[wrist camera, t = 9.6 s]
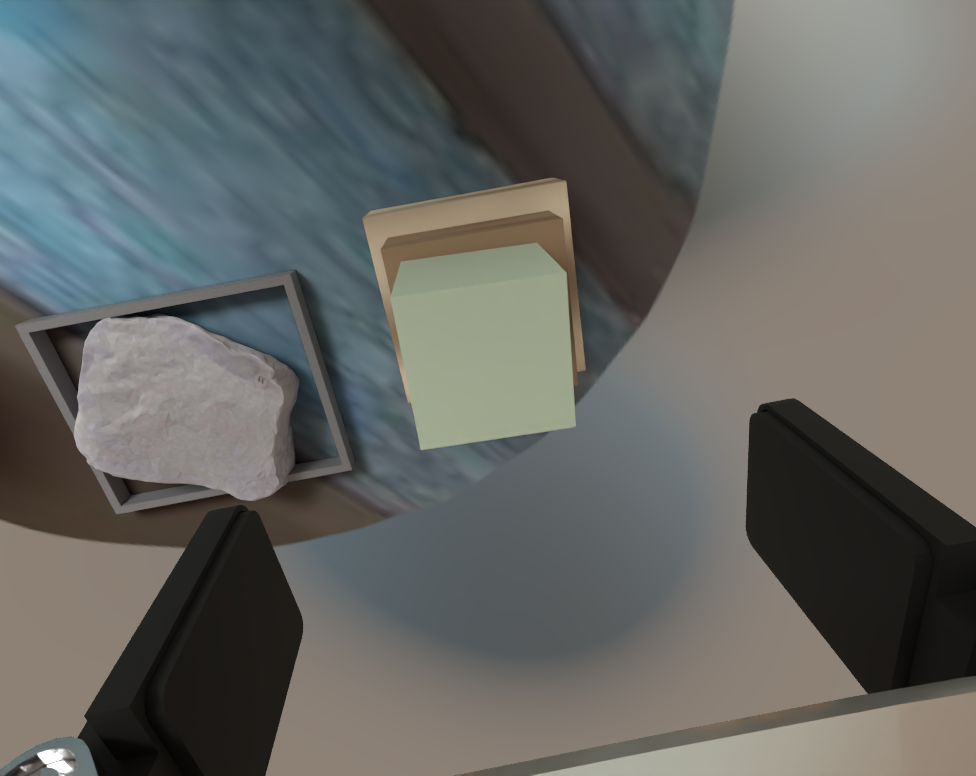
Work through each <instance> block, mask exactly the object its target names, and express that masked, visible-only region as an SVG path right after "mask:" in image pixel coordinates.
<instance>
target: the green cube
mask: <svg viewBox="0 0 976 776" xmlns="http://www.w3.org/2000/svg"><path fill="white" fill-rule="evenodd" d="M390 299H391V304H392V309H393V314H394V319H395V324H396V329H397V334H398V339H399V344H400V349H401V354H402V359H403V364H404V369H405V374H406V379H407V384H408V389H409V394H410V399H411V404H412V409H413V414H414V419H415V424H416V429H417V434H418V439H419V444H420V449H421V450H426V449H432V448H439V447H446V446H452V445H459V444H466V443H473V442H479V441H486V440H493V439H500V438H506V437H513V436H520V435H527V434H533V433H540V432H547V431H554V430H560V429H567V428H573V427H576V419H575V403H574V386H573V370H572V354H571V338H570V322H569V306H568V290H567V273H566V272H565V271H564V270H563V269H562V268H561V267H560V265H559V264H558V263H557V262H556V261H555V260H554V259H553V258H552V257H551V256H550V255H549V254H548V253H547V252H546V251H545V250H544V249H543V248H542V247H541V246H540V245H539V244H538V243H530V244H522V245H515V246H508V247H501V248H494V249H486V250H479V251H472V252H465V253H458V254H451V255H443V256H436V257H429V258H422V259H415V260H408V261H401V263H400V266H399V269H398V273H397V276H396V280H395V283H394V286H393V290H392V293H391V297H390Z"/></svg>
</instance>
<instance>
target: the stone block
mask: <svg viewBox="0 0 976 776" xmlns="http://www.w3.org/2000/svg"><path fill="white" fill-rule="evenodd" d="M82 361H83V362H82V367H81V373H80V379H79V387H78V395H77V399H78V404H79V411H78V414H77V418H76V421H75V427H74V438H75V442H76V446H77V448H78V449H79V451H80V452H81V453H82V454H83V455H84V456H85V457H86V458H87V462H88V464H90V465H92V466H93V467H94V468H95V469H98V470H101V471H103V472H107V473H109V474H111V475H112V476H115V477H121V478H126V479H133V480H141V481H145V482H157V483H182V484H194V485H201V486H205V487H208V488H211V489H215V490H223V491H225V492H227V493H229V494H230V495H232V496H234V497H236V498H238V499H241V500H249V501H255V500H258V499H262V498H265V497H269V496H270V495H272V494H274V493H275V492H276V491H277V490H279V489H280V488H281V487H283V486H284V485H286V484H287V481H288V478H287V476H288V474H289V473H290V472H291V471H292V469H293V468H294V466H295V451H294V443H293V433H292V427H291V425H290V415H291V412H292V409H293V407H294V405H295V403H296V401H297V395H298V388H299V378H298V377H297V376H296V374H295V373H294V372H293V371H292V369H290V368H289V367H288V366H287V365H285V364H283V363H281V362H280V361H278V360H277V359H275V358H273V357H272V356H271V355H268V354H264V353H262V352H259V351H257V350H255V349H252V348H250V347H246V346H244V345H241V344H238V343H236V342H234V341H232V340H231V339H229V338H226V337H224V336H220V335H217V334H214V333H211V332H209V331H207V330H205V329H203V328H202V327H200V326H198V325H196V324H193V323H190V322H187V321H186V320H183V319H180V318H178V317H173V316H168V315H165V314H162V313H160V314H153V315H148V316H140V315H126V314H125V315H120V316H115V317H109V318H104V319H102V320H101V321H99V322H98V323H97V324H96V325H95V326H94V327H93V329H92V330H91V331H90V333H89V335H88V337H87V339H86V341H85V345H84V349H83V358H82Z"/></svg>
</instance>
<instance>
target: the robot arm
mask: <svg viewBox="0 0 976 776" xmlns="http://www.w3.org/2000/svg"><path fill="white" fill-rule="evenodd" d="M748 452H749V453H748V479H747V508H746V531H747V536H748V539H749V541H750V543H751V545H752V546H753V548H754V549H755V550H756V552H757V553H758V554H759V556H760V557H761V558H762V559H763V561H764V562H765V563H766V564H767V566H768V567H769V568H770V570H771V571H772V572H773V573H774V575H775V576H776V577H777V579H778V580H779V581H780V582H781V584H782V585H783V586H784V588H785V589H786V590H787V591H788V593H789V594H790V595H791V596H792V597H793V599H794V600H795V602H796V603H797V604H798V605H799V607H800V608H801V609H802V611H803V612H804V613H805V614H806V616H807V617H808V618H809V619H810V621H811V622H812V623H813V624H814V626H815V627H816V628H817V630H818V631H819V632H820V633H821V635H822V636H823V637H824V639H825V640H826V641H827V642H828V643H829V645H830V646H831V648H832V649H833V650H834V651H835V653H836V654H837V655H838V656H839V658H840V659H841V660H842V661H843V663H844V664H845V665H846V667H847V668H848V669H849V670H850V672H851V673H852V674H853V675H854V677H855V678H856V679H857V680H858V682H859V683H860V685H861V686H862V687H863V688H864V690H865V691H866V692H867V693H868V694H866V695H861V696H855V697H849V698H844V699H839V700H834V701H829V702H823V703H819V704H813V705H808V706H803V707H798V708H793V709H788V710H782V711H778V712H772V713H767V714H762V715H757V716H752V717H746V718H741V719H736V720H731V721H726V722H721V723H715V724H710V725H705V726H700V727H695V728H690V729H685V730H680V731H674V732H669V733H665V734H659V735H654V736H649V737H644V738H639V739H634V740H629V741H625V742H619V743H614V744H609V745H604V746H599V747H594V748H590V749H584V750H579V751H574V752H569V753H564V754H559V755H554V756H549V757H544V758H539V759H535V760H529V761H524V762H519V763H514V764H510V765H505V766H500V767H494V768H489V769H484V770H480V771H474V772H469V773H465V774H460V775H455V776H976V527H975V526H973V525H972V524H970V523H969V522H968V521H966V520H965V519H963V518H962V517H961V516H959V515H958V514H956V513H955V512H954V511H952V510H951V509H949V508H948V507H947V506H945V505H944V504H942V503H941V502H940V501H938V500H937V499H935V498H934V497H933V496H931V495H930V494H928V493H927V492H926V491H924V490H923V489H922V488H920V487H919V486H917V485H916V484H915V483H913V482H912V481H910V480H909V479H907V478H906V477H905V476H903V475H902V474H901V473H899V472H898V471H896V470H895V469H894V468H892V467H891V466H889V465H888V464H887V463H885V462H884V461H882V460H881V459H879V458H878V457H877V456H875V455H874V454H872V453H871V452H870V451H868V450H867V449H866V448H864V447H863V446H861V445H860V444H858V443H857V442H856V441H854V440H853V439H852V438H850V437H849V436H847V435H846V434H845V433H843V432H842V431H840V430H839V429H838V428H836V427H835V426H833V425H832V424H830V423H829V422H828V421H826V420H825V419H824V418H822V417H821V416H819V415H818V414H816V413H815V412H814V411H812V410H811V409H809V408H808V407H807V406H805V405H804V404H803V403H801V402H800V401H798V400H796V399H786V400H781V401H776V402H770V403H766V404H762V405H760V406H759V409H758V411H757V413H754V414H752V415H751V417H750V423H749V451H748ZM302 634H303V620H302V616H301V613H300V610H299V608H298V606H297V603H296V601H295V598H294V596H293V594H292V591H291V589H290V587H289V585H288V582H287V580H286V577H285V575H284V573H283V570H282V568H281V566H280V563H279V561H278V558H277V556H276V554H275V551H274V549H273V547H272V544H271V542H270V540H269V537H268V535H267V533H266V530H265V528H264V525H263V523H262V521H261V518H260V516H259V515H258V513H257V512H256V511H249V510H248V509H247V508H246V507H245V506H243V505H238V506H233V507H227V508H222V509H217V510H212V511H210V512H208V514H207V515H206V516H205V518H204V519H203V521H202V523H201V524H200V526H199V528H198V529H197V531H196V533H195V534H194V536H193V538H192V539H191V541H190V542H189V544H188V546H187V547H186V549H185V551H184V552H183V554H182V556H181V557H180V559H179V561H178V562H177V564H176V566H175V567H174V569H173V571H172V572H171V574H170V575H169V577H168V579H167V580H166V582H165V584H164V586H163V587H162V589H161V590H160V592H159V594H158V595H157V597H156V599H155V600H154V602H153V603H152V605H151V607H150V609H149V610H148V612H147V613H146V615H145V617H144V618H143V620H142V622H141V624H140V625H139V627H138V628H137V630H136V632H135V633H134V635H133V636H132V638H131V640H130V641H129V643H128V645H127V647H126V648H125V650H124V651H123V653H122V655H121V656H120V658H119V660H118V661H117V663H116V664H115V666H114V668H113V669H112V671H111V673H110V675H109V676H108V678H107V679H106V681H105V683H104V684H103V686H102V688H101V689H100V691H99V692H98V694H97V696H96V697H95V699H94V701H93V702H92V704H91V706H90V708H89V709H88V711H87V712H86V714H85V716H84V717H85V718H86V719H87V723H86V724H85V726H84V728H83V730H82V731H81V733H80V734H79V736H78V738H74V737H63V738H56V739H53V740H50V741H47V742H45V743H42V744H39V745H37V746H35V747H33V748H31V749H30V750H28V751H26V752H25V753H23V754H21V755H19V756H18V757H16V758H15V759H13V760H12V761H11V762H10V763H8V764H7V765H6V766H4V767H3V768H2V769H0V776H265V774H266V771H267V767H268V763H269V759H270V756H271V752H272V748H273V744H274V741H275V737H276V733H277V729H278V726H279V722H280V718H281V714H282V710H283V707H284V703H285V699H286V695H287V691H288V688H289V684H290V680H291V676H292V672H293V669H294V665H295V661H296V657H297V654H298V650H299V646H300V643H301V639H302Z"/></svg>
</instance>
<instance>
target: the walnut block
mask: <svg viewBox="0 0 976 776" xmlns="http://www.w3.org/2000/svg"><path fill="white" fill-rule="evenodd" d="M530 243H538V244H539V245H540V246H541V247H542V248H543V249H544V250H545V251H546V252H547V253H548V254H549V255H550V256H551V257H552V258H553V259H554V260H555V261H556V262H557V263H558V264H559V265H560V267H561V268H562V269H563V270H564V271H565V272H566V273H567V290H568V306H569V322H570V338H571V354H572V370H573V386H579V384H578V373H577V363H576V352H575V341H574V331H573V320H572V310H571V299H570V288H569V278H568V267H567V256H566V246H565V235H564V224H563V218H561V217H559V216H557V215H556V214H554V213H552V212H550V211H543V212H537V213H531V214H525V215H519V216H513V217H507V218H501V219H495V220H489V221H483V222H477V223H471V224H465V225H460V226H454V227H448V228H442V229H436V230H430V231H424V232H418V233H412V234H406V235H400V236H394V237H388V238H387V240H386V241H385V243H384V245H383V246H382V248H381V254H382V258H383V262H384V267H385V271H386V276H387V280H388V284H389V289H390V293H392V290H393V286H394V283H395V280H396V276H397V273H398V269H399V266H400V263H401V261H408V260H415V259H422V258H429V257H436V256H443V255H451V254H458V253H465V252H472V251H479V250H486V249H494V248H501V247H508V246H515V245H522V244H530Z"/></svg>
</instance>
